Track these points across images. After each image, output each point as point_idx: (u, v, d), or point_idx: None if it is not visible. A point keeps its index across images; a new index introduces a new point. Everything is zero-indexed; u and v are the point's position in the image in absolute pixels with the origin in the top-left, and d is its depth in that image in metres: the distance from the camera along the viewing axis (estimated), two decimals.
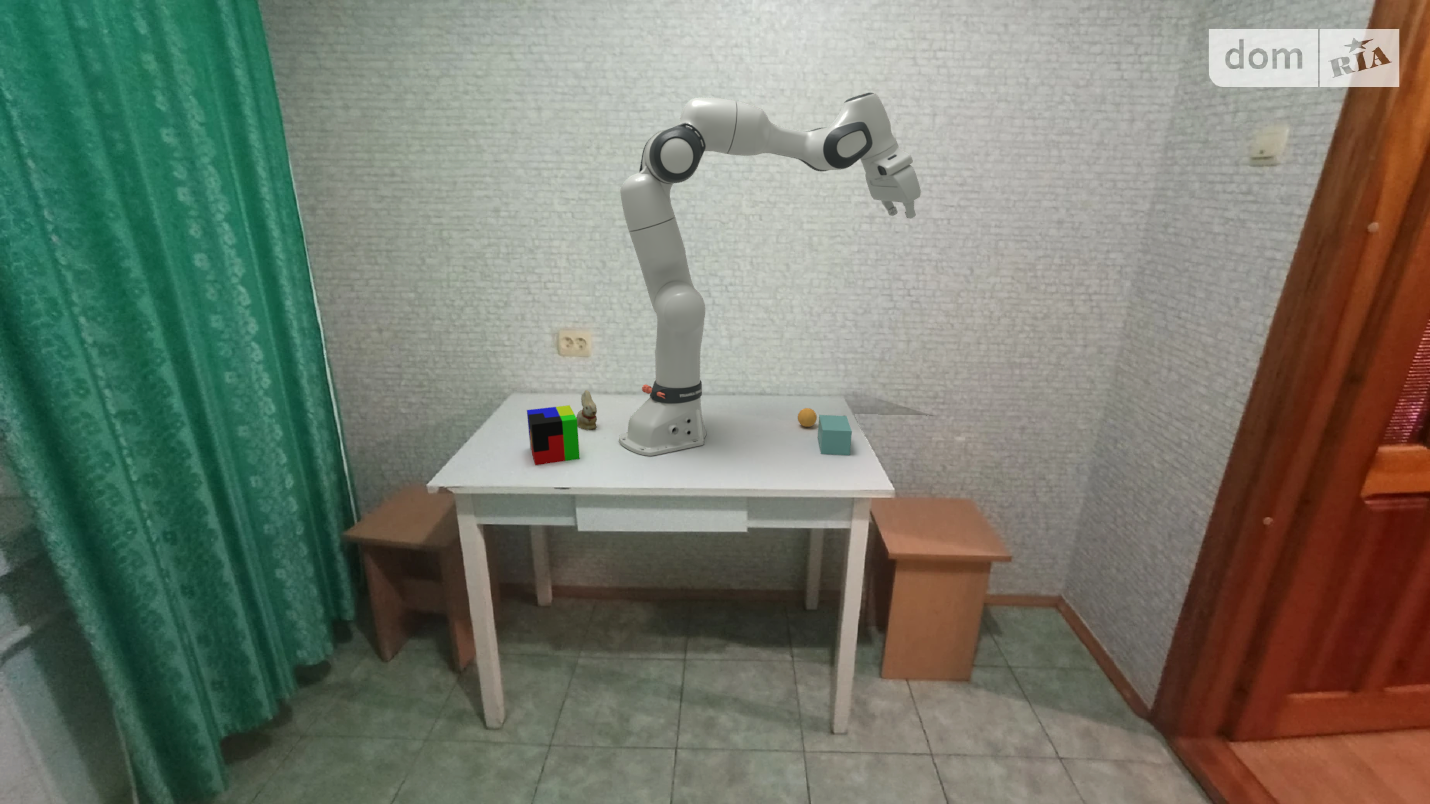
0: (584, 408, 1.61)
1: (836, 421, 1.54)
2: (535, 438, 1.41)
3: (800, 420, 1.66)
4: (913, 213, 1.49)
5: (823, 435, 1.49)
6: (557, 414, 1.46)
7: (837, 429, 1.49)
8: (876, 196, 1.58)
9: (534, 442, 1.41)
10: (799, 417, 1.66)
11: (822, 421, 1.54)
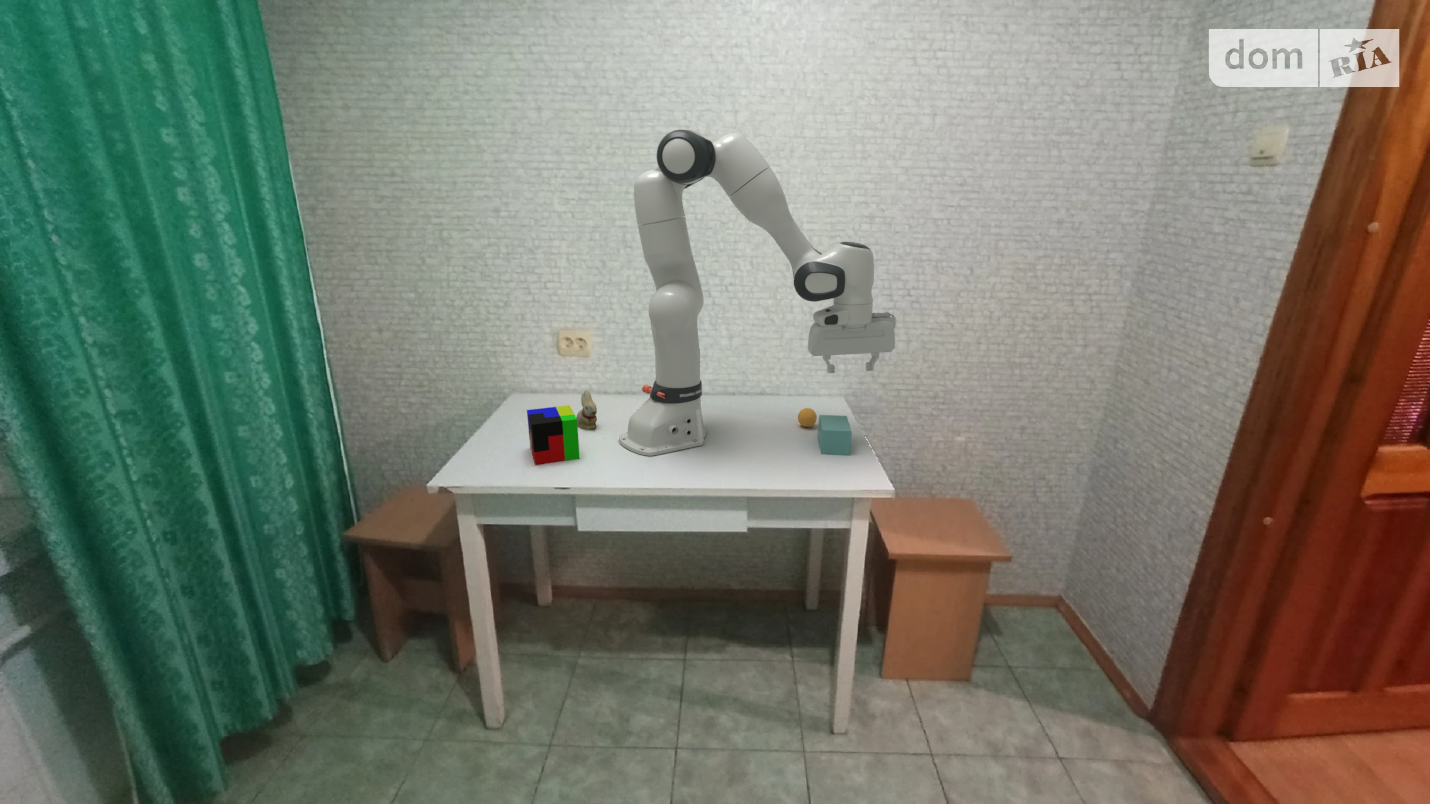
0: (584, 408, 1.61)
1: (836, 421, 1.54)
2: (535, 438, 1.41)
3: (800, 420, 1.66)
4: (828, 369, 1.49)
5: (823, 435, 1.49)
6: (557, 414, 1.46)
7: (837, 429, 1.49)
8: None
9: (534, 442, 1.41)
10: (799, 417, 1.66)
11: (822, 421, 1.54)
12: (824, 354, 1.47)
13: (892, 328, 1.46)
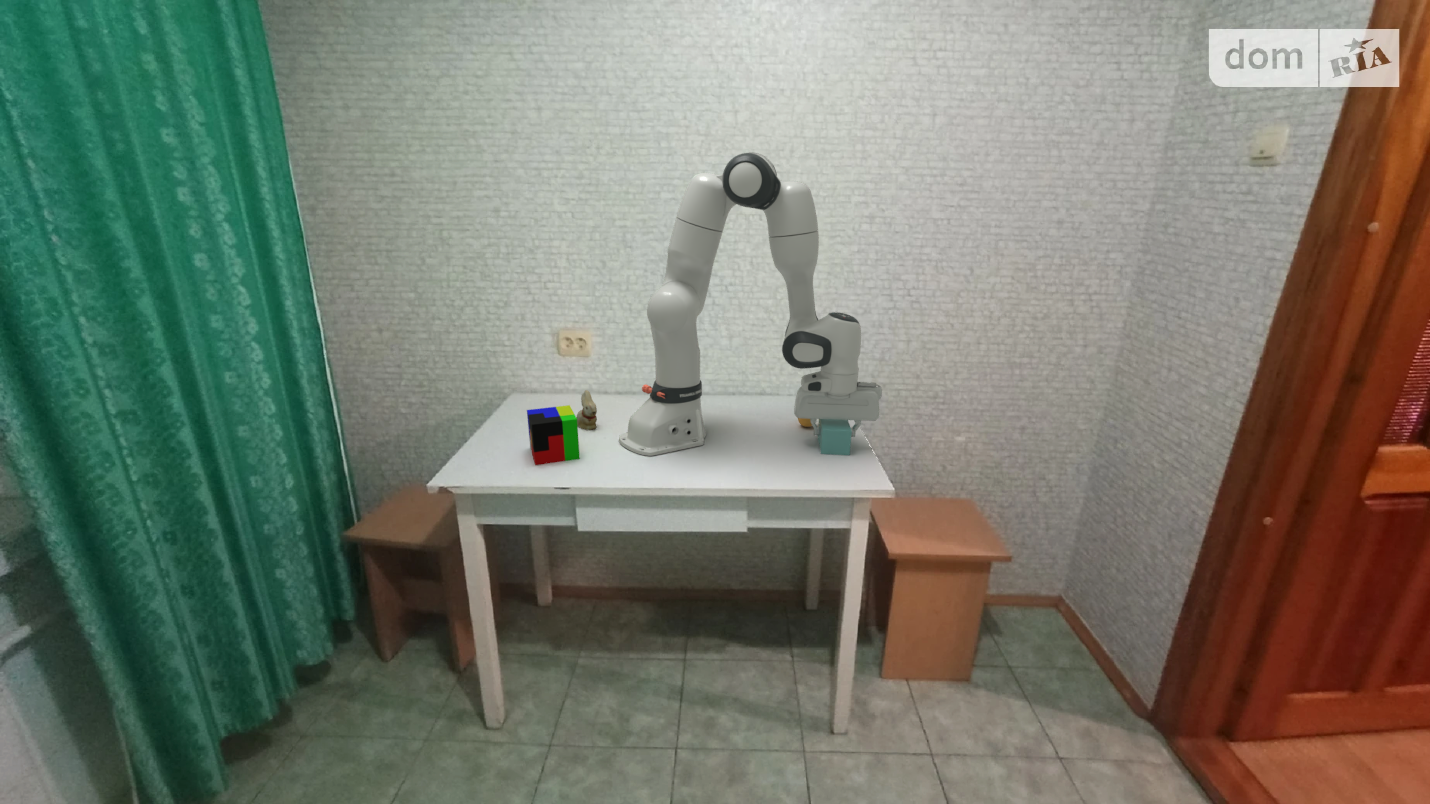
0: (584, 408, 1.61)
1: (836, 421, 1.54)
2: (535, 438, 1.41)
3: (800, 420, 1.66)
4: (814, 432, 1.54)
5: (823, 435, 1.49)
6: (557, 414, 1.46)
7: (837, 429, 1.49)
8: None
9: (534, 442, 1.41)
10: None
11: (822, 421, 1.54)
12: (807, 417, 1.52)
13: (877, 398, 1.49)
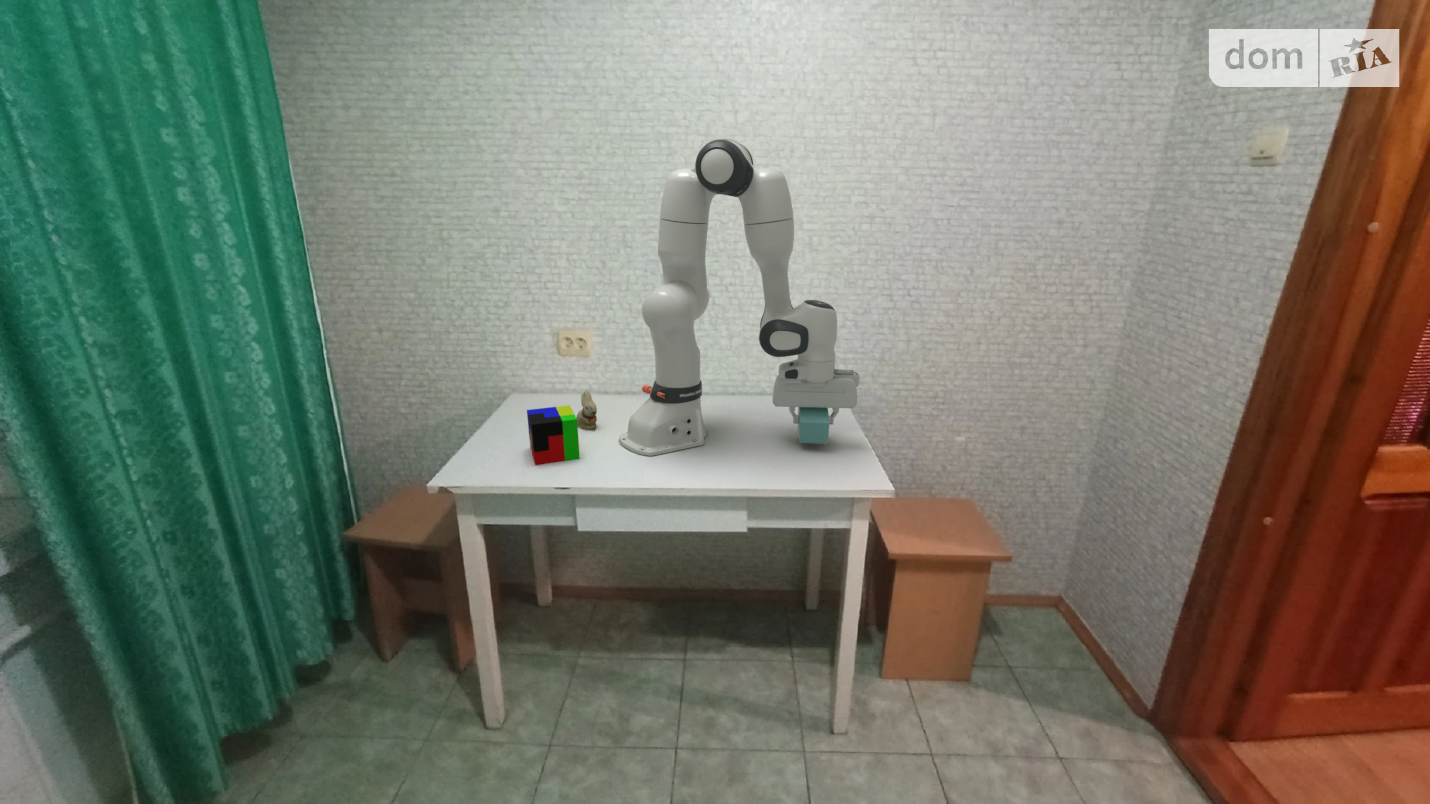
0: (584, 408, 1.61)
1: (815, 408, 1.54)
2: (535, 438, 1.41)
3: None
4: (793, 420, 1.54)
5: (801, 426, 1.50)
6: (557, 414, 1.46)
7: (815, 420, 1.49)
8: None
9: (534, 442, 1.41)
10: None
11: (801, 408, 1.54)
12: (785, 405, 1.52)
13: (854, 386, 1.49)
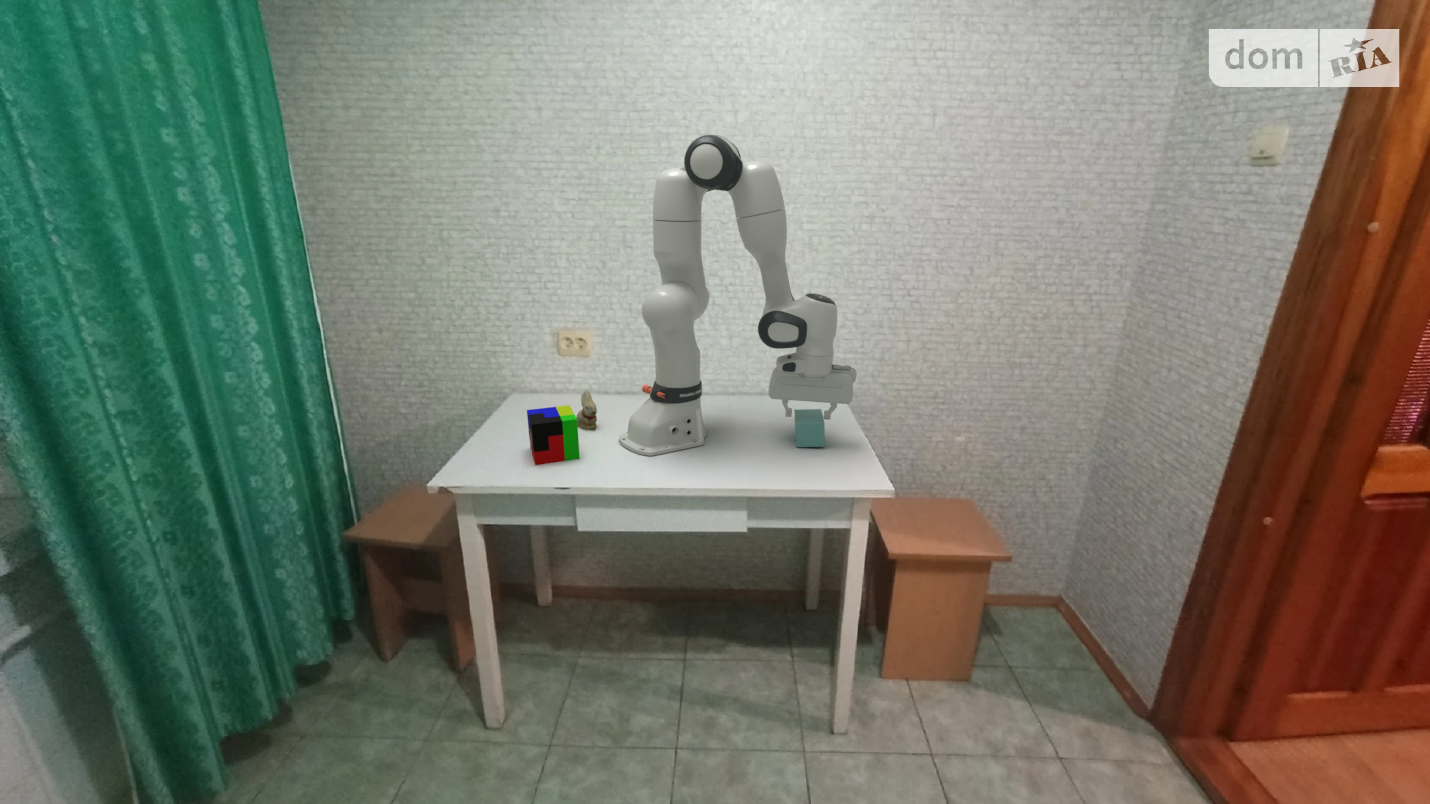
0: (584, 408, 1.61)
1: (810, 414, 1.57)
2: (535, 438, 1.41)
3: None
4: (785, 413, 1.54)
5: (797, 428, 1.53)
6: (557, 414, 1.46)
7: (810, 422, 1.52)
8: None
9: (534, 442, 1.41)
10: None
11: (796, 415, 1.57)
12: (781, 398, 1.51)
13: (851, 382, 1.49)
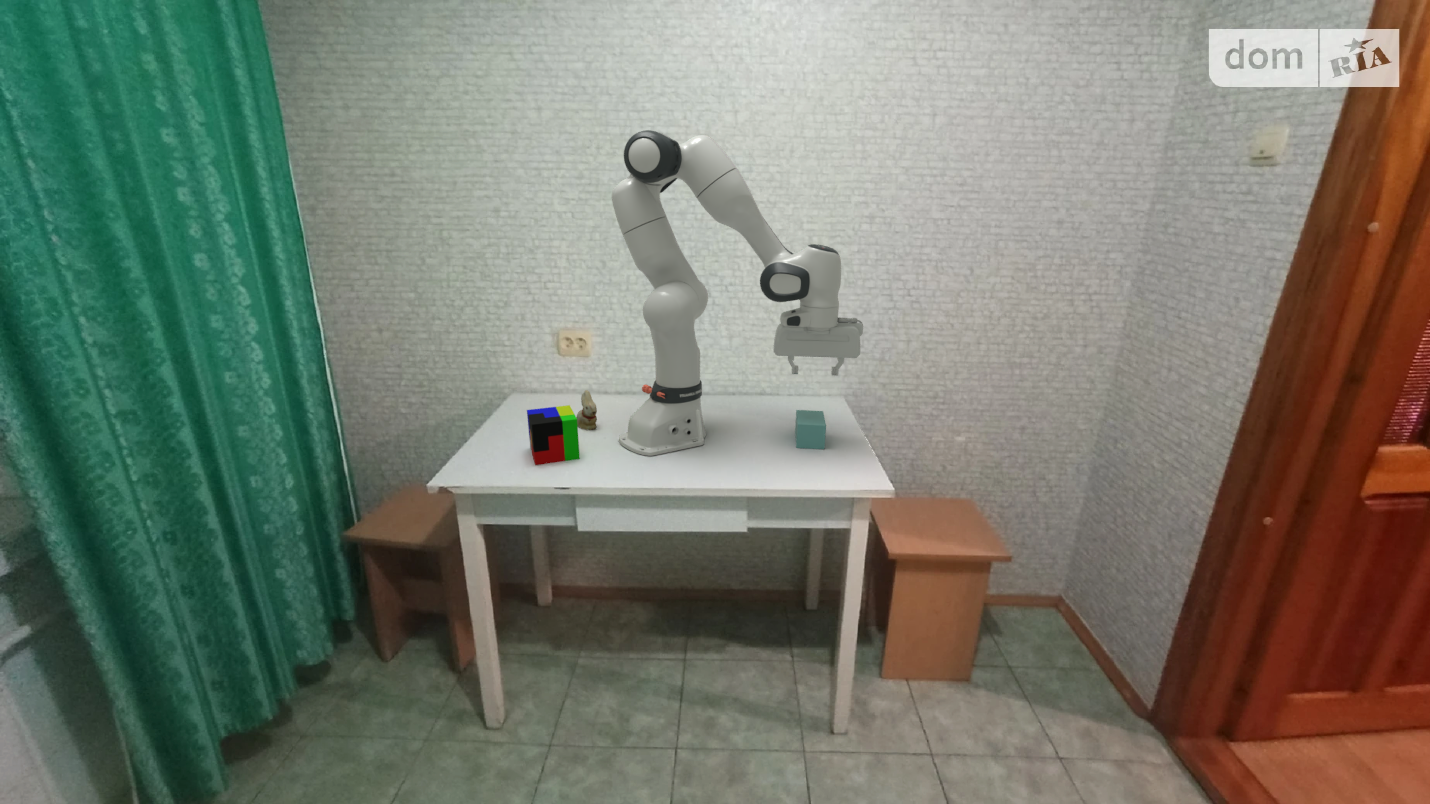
0: (584, 408, 1.61)
1: (812, 416, 1.57)
2: (535, 438, 1.41)
3: None
4: (792, 370, 1.50)
5: (798, 429, 1.53)
6: (557, 414, 1.46)
7: (812, 423, 1.52)
8: None
9: (534, 442, 1.41)
10: None
11: (798, 416, 1.57)
12: (787, 354, 1.48)
13: (858, 334, 1.45)
